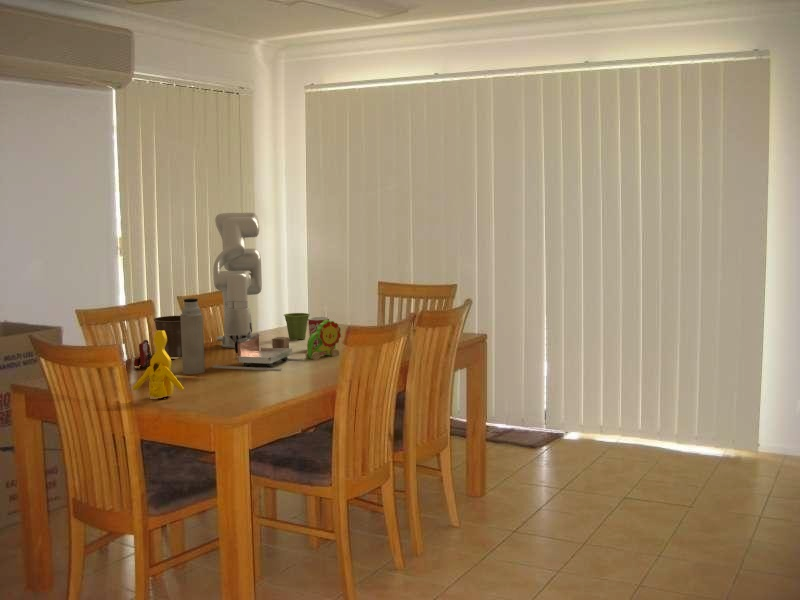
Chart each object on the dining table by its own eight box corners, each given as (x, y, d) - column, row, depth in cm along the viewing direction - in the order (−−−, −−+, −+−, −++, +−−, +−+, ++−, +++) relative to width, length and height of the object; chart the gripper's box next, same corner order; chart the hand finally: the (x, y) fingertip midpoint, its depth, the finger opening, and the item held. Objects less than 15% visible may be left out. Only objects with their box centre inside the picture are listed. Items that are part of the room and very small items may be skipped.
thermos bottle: (190, 371, 349) (187, 297, 346) (209, 372, 347) (206, 297, 343) (178, 375, 342) (175, 299, 339) (197, 376, 339) (194, 300, 336)
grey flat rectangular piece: (212, 370, 352) (212, 365, 351) (237, 360, 372) (237, 356, 371) (280, 373, 343) (280, 368, 343) (302, 362, 363) (302, 358, 363)
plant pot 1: (203, 357, 379) (201, 318, 377) (166, 362, 369) (164, 322, 367) (185, 352, 391) (183, 314, 390) (148, 357, 381) (147, 318, 379)
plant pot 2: (309, 340, 416) (308, 315, 414) (282, 341, 416) (281, 316, 414) (312, 336, 427) (311, 312, 426) (286, 337, 427) (285, 312, 426)
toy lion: (313, 362, 365) (312, 323, 363) (304, 360, 368) (303, 322, 367) (344, 356, 376) (343, 319, 374) (335, 355, 379) (334, 318, 378)
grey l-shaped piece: (235, 368, 349) (234, 340, 348) (258, 358, 368) (257, 332, 367) (270, 369, 345) (269, 341, 344) (292, 360, 364) (291, 333, 363)
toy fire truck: (159, 364, 365) (158, 338, 364) (151, 370, 353) (150, 343, 352) (141, 364, 365) (140, 338, 364) (133, 370, 353) (131, 343, 352)
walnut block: (272, 358, 374) (272, 338, 373) (278, 356, 378) (277, 336, 377) (284, 359, 372) (283, 339, 371) (289, 356, 377) (288, 337, 376)
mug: (329, 351, 388) (328, 319, 386) (307, 351, 388) (306, 319, 386) (331, 346, 400) (330, 315, 399) (310, 346, 400) (309, 315, 398)
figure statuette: (129, 400, 303) (126, 333, 300) (139, 394, 311) (136, 329, 308) (182, 400, 301) (179, 333, 298) (191, 395, 308) (188, 329, 306)
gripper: (215, 306, 356) (217, 353, 358) (251, 306, 351) (252, 354, 353) (224, 303, 363) (226, 350, 365) (259, 304, 358) (261, 351, 361)
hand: (239, 352), depth 359 cm, fingers closed
